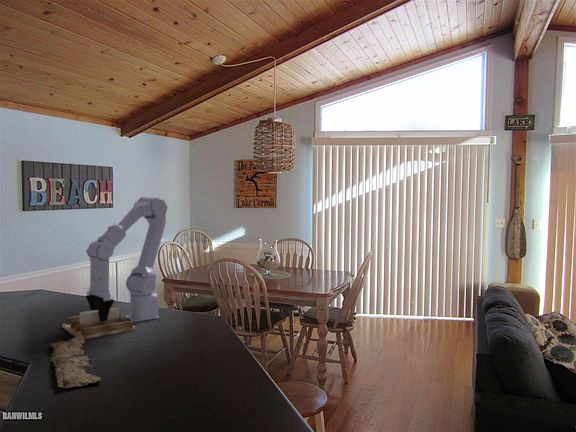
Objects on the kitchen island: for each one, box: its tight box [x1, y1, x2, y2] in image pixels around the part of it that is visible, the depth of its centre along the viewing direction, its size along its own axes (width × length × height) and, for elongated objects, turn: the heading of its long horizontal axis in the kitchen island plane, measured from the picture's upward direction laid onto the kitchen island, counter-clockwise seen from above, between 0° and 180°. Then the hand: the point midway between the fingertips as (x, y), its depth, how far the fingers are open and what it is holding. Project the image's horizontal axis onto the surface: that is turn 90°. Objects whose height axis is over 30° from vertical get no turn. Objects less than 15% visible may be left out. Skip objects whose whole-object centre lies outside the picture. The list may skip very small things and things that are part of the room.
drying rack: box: [61, 313, 137, 340], centre depth 152 cm, size 18×17×3 cm
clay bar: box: [79, 307, 120, 324], centre depth 152 cm, size 12×2×5 cm, turn 131°
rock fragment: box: [49, 335, 102, 389], centre depth 120 cm, size 34×10×3 cm, turn 33°
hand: (99, 318), depth 152 cm, fingers open, 7 cm apart
